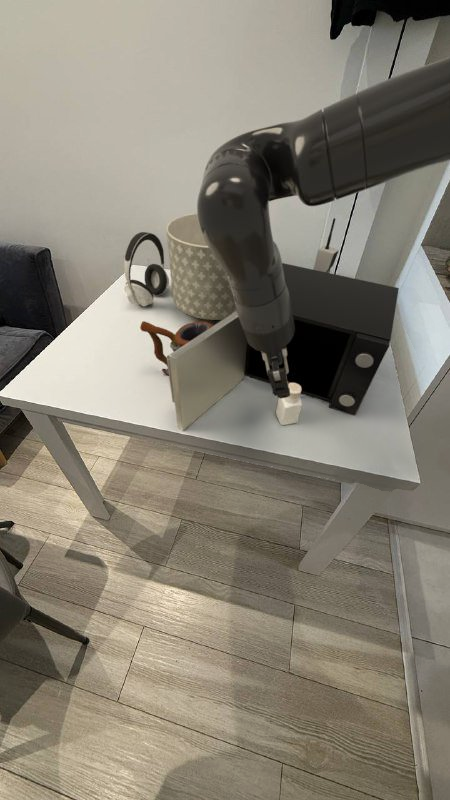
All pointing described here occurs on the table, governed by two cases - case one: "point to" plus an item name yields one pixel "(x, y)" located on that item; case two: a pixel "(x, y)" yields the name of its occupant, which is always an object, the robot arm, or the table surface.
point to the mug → (173, 337)
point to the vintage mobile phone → (326, 255)
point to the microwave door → (207, 369)
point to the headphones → (153, 275)
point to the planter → (196, 272)
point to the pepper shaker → (290, 405)
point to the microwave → (333, 336)
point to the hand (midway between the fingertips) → (281, 375)
